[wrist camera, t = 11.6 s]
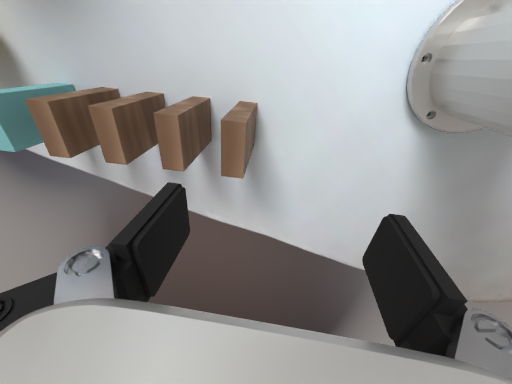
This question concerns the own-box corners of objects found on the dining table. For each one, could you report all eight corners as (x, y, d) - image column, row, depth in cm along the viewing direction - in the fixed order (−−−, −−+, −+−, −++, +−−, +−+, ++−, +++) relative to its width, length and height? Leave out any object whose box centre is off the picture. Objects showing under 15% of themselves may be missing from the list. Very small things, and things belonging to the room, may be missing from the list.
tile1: (257, 103, 24) (245, 122, 17) (253, 145, 27) (243, 178, 20) (239, 101, 25) (220, 119, 17) (238, 143, 27) (221, 175, 20)
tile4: (117, 88, 25) (47, 101, 18) (128, 131, 28) (70, 158, 20) (101, 87, 25) (24, 99, 18) (113, 129, 28) (50, 155, 20)
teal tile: (73, 125, 28) (-4, 149, 21) (57, 83, 26) (-39, 93, 18) (87, 126, 28) (15, 151, 21) (73, 84, 25) (-16, 95, 18)
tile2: (209, 98, 25) (177, 115, 17) (211, 140, 27) (183, 171, 20) (192, 96, 25) (153, 112, 17) (195, 138, 27) (162, 169, 20)
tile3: (163, 93, 25) (111, 108, 17) (169, 135, 28) (126, 164, 20) (146, 91, 25) (87, 105, 17) (154, 134, 28) (105, 162, 20)
